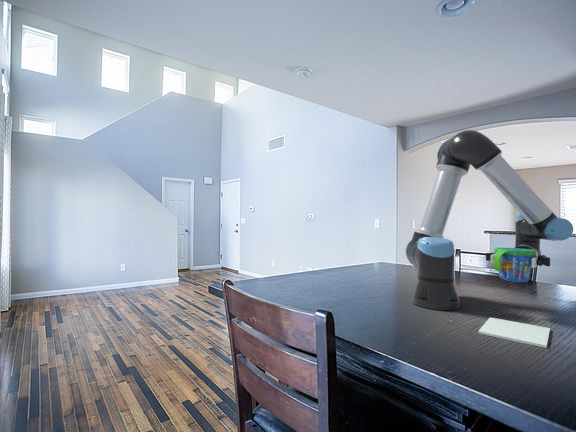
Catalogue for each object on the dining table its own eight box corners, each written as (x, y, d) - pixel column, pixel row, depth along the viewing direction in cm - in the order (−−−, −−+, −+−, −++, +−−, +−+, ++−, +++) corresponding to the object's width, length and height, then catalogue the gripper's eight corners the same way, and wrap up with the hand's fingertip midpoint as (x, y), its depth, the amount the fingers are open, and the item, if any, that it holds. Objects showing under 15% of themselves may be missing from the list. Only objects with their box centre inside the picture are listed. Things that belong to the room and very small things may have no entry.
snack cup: (518, 276, 108) (518, 247, 108) (550, 283, 97) (550, 250, 97) (479, 278, 104) (480, 247, 104) (508, 284, 94) (509, 250, 94)
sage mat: (546, 348, 74) (546, 345, 74) (478, 333, 84) (478, 331, 84) (550, 330, 86) (550, 328, 86) (490, 319, 96) (489, 317, 96)
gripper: (564, 270, 106) (559, 278, 90) (487, 262, 122) (470, 268, 105) (564, 248, 106) (559, 252, 90) (487, 243, 122) (471, 246, 106)
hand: (511, 261), depth 98 cm, fingers closed on snack cup, 10 cm apart
